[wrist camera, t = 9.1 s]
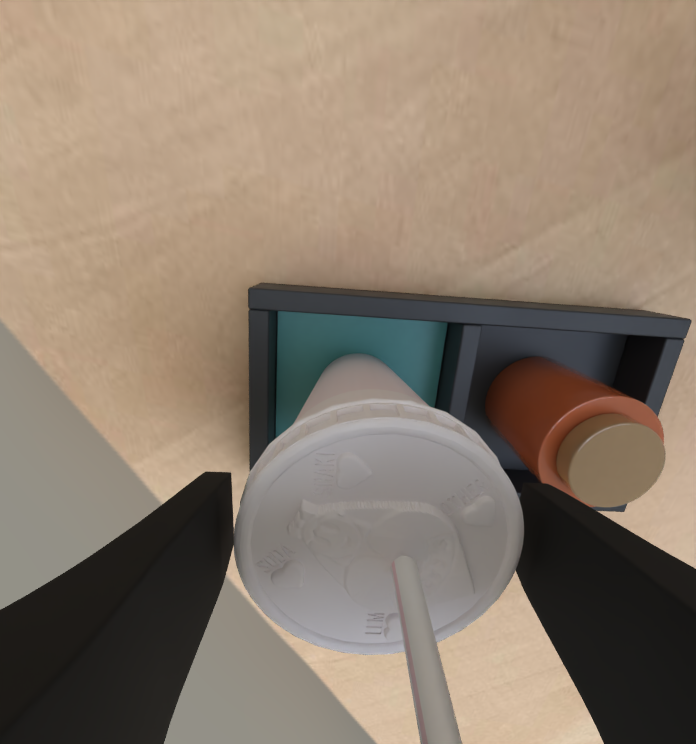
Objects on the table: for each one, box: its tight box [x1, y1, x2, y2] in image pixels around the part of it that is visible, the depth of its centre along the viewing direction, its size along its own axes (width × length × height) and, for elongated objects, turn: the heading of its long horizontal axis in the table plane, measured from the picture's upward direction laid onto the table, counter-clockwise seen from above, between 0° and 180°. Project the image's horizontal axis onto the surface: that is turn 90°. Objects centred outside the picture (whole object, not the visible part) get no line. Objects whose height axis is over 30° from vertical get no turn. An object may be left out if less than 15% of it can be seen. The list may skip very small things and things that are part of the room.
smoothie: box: [234, 353, 524, 744], centre depth 11 cm, size 6×6×14 cm
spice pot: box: [485, 356, 665, 507], centre depth 15 cm, size 4×4×6 cm
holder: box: [248, 283, 691, 512], centre depth 17 cm, size 9×17×2 cm, turn 86°
